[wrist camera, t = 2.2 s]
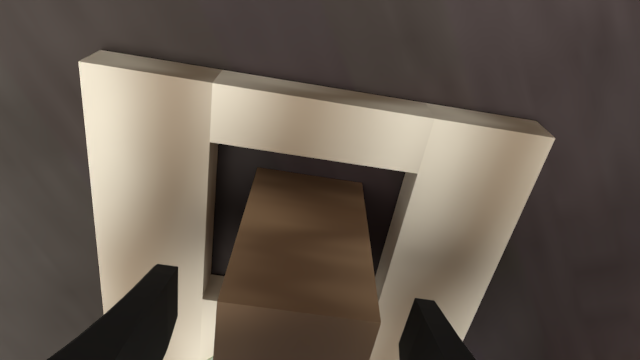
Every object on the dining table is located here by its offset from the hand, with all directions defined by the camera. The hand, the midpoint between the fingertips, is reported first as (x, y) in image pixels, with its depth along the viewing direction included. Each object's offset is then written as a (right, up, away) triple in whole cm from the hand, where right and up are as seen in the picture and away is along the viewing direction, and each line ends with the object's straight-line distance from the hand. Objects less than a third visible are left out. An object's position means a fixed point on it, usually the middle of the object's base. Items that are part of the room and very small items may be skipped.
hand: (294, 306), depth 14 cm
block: (0, +2, +4) cm, 5 cm away
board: (-1, -2, +6) cm, 7 cm away
